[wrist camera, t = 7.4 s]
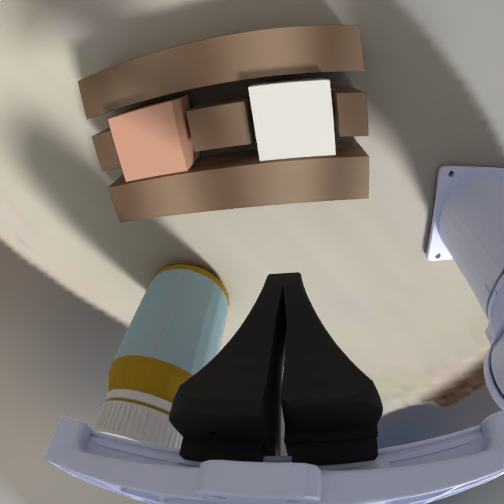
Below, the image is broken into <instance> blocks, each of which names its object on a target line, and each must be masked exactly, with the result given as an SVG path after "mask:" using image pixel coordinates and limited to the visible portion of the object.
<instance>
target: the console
mask: <svg viewBox="0 0 504 504" xmlns="http://www.w3.org/2000/svg"><path fill="white" fill-rule="evenodd" d="M341 71H364V62H363V53H362V44H361V36H360V29H359V25H314V26H297V27H284V28H274V29H265V30H257V31H250V32H243V33H237V34H231V35H225V36H220V37H215V38H210V39H205V40H201V41H196V42H192V43H188V44H184V45H180V46H176V47H173V48H169V49H165V50H162V51H158V52H155V53H152V54H149V55H145V56H142V57H139V58H136V59H133V60H130V61H128V62H125V63H122V64H119V65H116V66H114V67H111V68H109V69H106V70H103V71H101V72H99V73H96V74H94V75H91V76H89V77H87V78H84V79H82V80H80V81H78V84H79V88H80V93H81V97H82V101H83V105H84V109H85V113H86V117H87V119H89V118H92V117H95V116H97V115H100V114H103V113H106V112H109V111H112V110H115V109H118V108H121V107H125V106H128V105H131V104H134V103H138V102H141V101H145V100H149V99H152V98H156V97H160V96H164V95H168V94H172V93H176V92H180V91H185V90H189V89H194V88H199V87H204V86H209V85H214V84H220V83H225V82H231V81H238V80H244V79H251V78H259V77H267V76H276V75H287V74H299V73H314V72H341ZM331 98H332V109H333V121H334V129H335V130H336V132H337V133H338V135H339V136H340V137H344V136H368V113H367V96H366V93H365V92H362V91H360V90H357V89H355V88H339V89H331ZM186 114H187V119H188V124H189V128H190V133H191V137H192V142H193V146H194V151H195V152H198V151H204V150H210V149H217V148H224V147H231V146H239V145H247V144H251V143H252V141H253V138H254V135H255V128H254V121H253V115H252V109H251V102H250V96H245V97H238V98H231V99H225V100H219V101H213V102H208V103H202V104H199V105H197V106H195V107H193V108H192V109H190V110H188V111H186ZM92 138H93V142H94V145H95V149H96V152H97V155H98V158H99V162H100V165H101V168H102V171H105V170H109V169H113V168H117V167H121V164H120V161H119V157H118V154H117V150H116V147H115V143H114V140H113V136H112V133H111V129H110V128H108V129H106V130H104V131H102V132H100V133H98V134H96V135H94V136H92ZM335 151H336V155H327V156H311V157H298V158H286V159H275V160H265V161H260V160H259V153H258V150H251V151H243V152H235V153H227V154H220V155H213V156H206V157H200V158H197V159H196V161H195V162H194V163H193V164H192V166H191V167H190V168H189V169H188V171H183V172H177V173H171V174H165V175H159V176H154V177H148V178H143V179H138V180H133V181H128V182H126V180H125V177H124V174H123V175H122V176H121V177H120V178H119V179H117V180H116V181H115V182H114V183H113V184H112V185H111V186H109V187H108V189H109V192H110V195H111V198H112V201H113V203H114V206H115V209H116V212H117V214H118V217H119V220H120V222H124V221H132V220H139V219H147V218H154V217H162V216H170V215H179V214H187V213H196V212H205V211H214V210H224V209H234V208H244V207H255V206H266V205H278V204H290V203H303V202H317V201H332V200H348V199H366V198H369V156H368V155H367V153H366V152H365V151H364V150H363V149H362V147H361V146H360V145H359V144H358V143H335Z"/></svg>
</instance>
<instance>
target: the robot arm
mask: <svg viewBox="0 0 504 504" xmlns="http://www.w3.org/2000/svg"><path fill="white" fill-rule="evenodd" d="M450 171H452V174H451V175H449V172H450ZM438 253H439V254H438ZM436 254H438V255H437V256H436ZM426 257H427V259H428V260H429V261H438V260H449V259H454V261H455V262H456V264H457V265H458V267H459V269H460V270H461V272H462V273H463V275H464V277H465V278H466V280H467V282H468V284H469V285H470V287H471V289H472V290H473V292H474V294H475V296H476V298H477V299H478V301H479V303H480V305H481V307H482V308H483V310H484V312H485V314H486V316H487V318H488V320H489V324H488V327H487V329H486V331H485V333H486V335H487V337H488V339H489V342H490V344H491V347H490V348H489V350H488V352H487V354H486V357H485V361H484V376H485V381H486V384H487V387H488V390H489V392H490V394H491V396H492V397H493V399H494V400H495V402H496V403H497V404H498V406H499V407H500V408H501V409H502V411H499V412H497V413H494V414H492V415H490V416H489V417H487V418H486V419H485V420H484V421H483V422H482V424H481V425H478V426H475V427H472V428H469V429H465V430H462V431H459V432H455V433H452V434H448V435H444V436H440V437H436V438H433V439H428V440H424V441H419V442H415V443H410V444H405V445H400V446H394V447H388V448H382V449H378V448H377V436H378V430H377V424H378V422H379V420H380V418H381V415H382V412H383V407H382V403H381V399H380V396H379V394H378V391H377V389H376V387H375V385H374V383H373V381H372V380H371V379H370V378H368V377H367V376H366V375H365V374H364V373H363V372H362V371H361V370H360V369H359V368H357V366H356V365H355V364H354V363H353V362H352V361H351V360H350V359H349V358H348V357H347V356H346V355H345V354H344V352H343V351H342V350H341V349H340V348H339V347H338V345H337V344H336V343H335V342H334V340H333V339H332V338H331V336H330V335H329V333H328V332H327V330H326V329H325V327H324V326H323V324H322V323H321V321H320V319H319V318H318V316H317V314H316V312H315V310H314V309H313V307H312V304H311V302H310V300H309V298H308V296H307V294H306V291H305V288H304V285H303V282H302V278H301V274H300V273H298V272H297V273H282V274H269V275H268V276H267V279H266V281H265V284H264V286H263V289H262V291H261V293H260V295H259V297H258V299H257V301H256V303H255V304H254V306H253V308H252V310H251V311H250V313H249V315H248V316H247V318H246V319H245V321H244V322H243V324H242V325H241V327H240V328H239V330H238V331H237V332H236V333H235V335H234V336H233V337H232V339H231V340H230V341H229V342H228V343H227V344H226V345H225V347H224V348H223V349H222V350H221V351H220V352H219V353H218V354H217V355H216V356H215V357H214V358H213V359H212V360H211V361H210V362H209V363H207V364H206V365H205V366H204V367H203V368H202V369H201V370H200V371H198V372H197V373H196V374H194V375H193V376H192V377H190V378H189V379H188V380H186V381H185V382H184V383H182V384H181V385H180V386H179V388H178V390H177V393H176V395H175V397H174V400H173V403H172V407H171V411H170V414H169V421H170V422H171V424H172V425H173V427H174V428H175V429H176V430H177V431H178V432H179V433H180V434H181V435H182V436H183V439H182V443H181V448H180V449H177V448H171V447H165V446H159V445H153V444H148V443H143V442H138V441H134V440H129V439H125V438H121V437H117V436H113V435H109V434H105V433H101V432H98V431H94V430H92V429H91V428H90V427H89V426H88V425H87V424H85V423H84V422H82V421H79V420H76V419H73V418H70V417H67V416H61V419H60V421H59V424H58V426H57V429H56V431H55V433H54V436H53V438H52V441H51V443H50V446H49V449H48V451H47V454H46V457H45V459H46V460H47V461H49V462H51V463H52V464H54V465H56V466H57V467H59V468H60V469H62V470H64V471H66V472H67V473H69V474H71V475H73V476H75V477H76V478H79V479H81V480H84V481H86V482H88V483H91V484H94V485H96V486H99V487H101V488H104V489H107V490H110V491H112V492H115V493H118V494H121V495H124V496H127V497H130V498H133V499H136V500H139V501H143V502H146V503H150V504H425V503H429V502H432V501H435V500H439V499H442V498H445V497H447V496H451V495H453V494H456V493H459V492H462V491H465V490H467V489H470V488H472V487H475V486H477V485H480V484H482V483H485V482H487V481H489V480H492V479H494V478H497V477H498V476H500V475H502V474H503V473H504V168H494V167H474V166H442V167H440V169H439V171H438V178H437V188H436V196H435V204H434V212H433V218H432V225H431V231H430V237H429V242H428V248H427V253H426ZM284 357H285V360H284ZM283 366H284V371H283ZM282 375H283V380H282ZM281 406H282V410H283V416H284V422H285V437H284V443H285V444H286V449H287V454H288V456H280V455H281V454H280V452H281Z"/></svg>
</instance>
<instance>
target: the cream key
mask: <svg viewBox="0 0 504 504" xmlns="http://www.w3.org/2000/svg"><path fill="white" fill-rule="evenodd" d="M248 90H249V96H250V102H251V109H252V115H253V121H254V128H255V134H256V140H257V147H258V153H259V160H260V161H265V160H275V159H286V158H298V157H311V156H327V155H336V151H335V135H334V121H333V109H332V98H331V88H330V80H328V79H326V78H323V77H318V78H302V79H290V80H279V81H269V82H261V83H253V84H252V85H250V86H249V87H248Z"/></svg>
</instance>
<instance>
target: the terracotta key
mask: <svg viewBox="0 0 504 504" xmlns="http://www.w3.org/2000/svg"><path fill="white" fill-rule="evenodd" d="M190 109H191V108H190V103H189V99H188V95H185V96H181V97H176V98H172V99H168V100H164V101H160V102H156V103H152V104H148V105H145V106H141V107H138V108H134V109H131V110H128V111H126V112H124V113H121V114H119V115H116V116H114V117H112V118H110V119H108V121H109V125H110V129H111V133H112V136H113V140H114V143H115V147H116V150H117V154H118V157H119V161H120V164H121V167H122V170H123V174H124V177H125V180H126V182H128V181H133V180H138V179H143V178H148V177H154V176H159V175H165V174H171V173H177V172H183V171H188V169H189V168H190V167H191V166H192V164H193V163H194V162H195V161H196V159H197V158H198V157H199V156H200V151H198V152H195V151H194V146H193V142H192V137H191V133H190V128H189V124H188V119H187V114H186V111H188V110H190Z"/></svg>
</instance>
